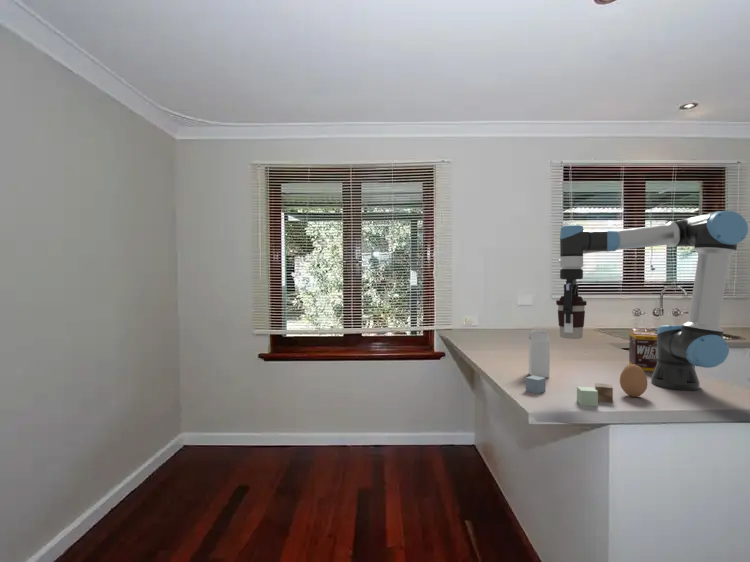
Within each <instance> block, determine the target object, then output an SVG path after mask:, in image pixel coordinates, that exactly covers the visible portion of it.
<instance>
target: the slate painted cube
mask: <svg viewBox="0 0 750 562" xmlns="http://www.w3.org/2000/svg"><path fill="white" fill-rule="evenodd" d="M546 378H547V377H538V376H531V375H530V376H527V377H525V391H526V392H530V393H532V394H533V393H534V394H542V393H545V392H546V386H547V385H546Z"/></svg>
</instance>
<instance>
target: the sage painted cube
mask: <svg viewBox="0 0 750 562" xmlns="http://www.w3.org/2000/svg"><path fill="white" fill-rule="evenodd" d="M576 402H577V403H578V404H579V405H580V406H581V407H598V406H599V401H598V391H597V390H596V389H595V387H594V386H576Z"/></svg>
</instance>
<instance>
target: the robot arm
mask: <svg viewBox="0 0 750 562" xmlns="http://www.w3.org/2000/svg"><path fill="white" fill-rule="evenodd" d="M748 233H749V226H748V223H747V220H746V219H745V218H744V217H743V216H742V215H741V213H738V212H736V211H735V210H734V211H733V210H716V211H714V212H710V213H705V214H699V215H696V216H695V215H694V216H692V217H688V218H684V219H681V220H675V221H673V220H672V221H669V222H667V223H666V224H664V225H654V226H643V227H636V228H627V229H626V228H625V229H619V230H618V229H617V230H616V229H615V230H609V229H606V230H605V229H604V230H584V226H583V225H582V224H568V225H567V224H566V225H562V226H561V227H560V232H559V249H560V250H559V253H560V254H559V256H560V257H559V259H558V262H559V265H560V266H559V268H561V269H560V271H559V279H560V280H566V281H565V283H564V284H563V296H564V302H563V311H562V314H564V332H567V333H573V314H572V309H573V306H572V302H573V297H575V296H579V283H577V280H583V279H584V269H582V268H583V267H584V254H585V255H586V254H590V253H600V252H603V253H604V252H606V253H609V252H616V251H621V250H630V249H638V248H649V247H659V246H668V247H671V248H673V247H674V248H675V247H693V249H694V251H695V252H696V253H697V255H698V257H697V261H696V262H697V263H696V268H695V275H694V282H693V287H692V288H693V289H692V294H691V301H690V307H689V313H688V320H687V321H686V322H684V323H682V325H659V326H658V327H657V330H656V331H657V332H656V333H657V364H656V367H655V369H654V372H653V371H652V374H651V376H650V377H651V379H650V380H651V384H652V385H655V386H657V387H660V388H665V389H672V390H680V391H696V389H697V390H700V380H699V376H698V375H697V372H696V369H695V367H699V368H704V369H705V368H706V369H709V368H716V367H718V366H720V365H721V364H723V363H724V362H725V361H726V360H727V358H728V356H729V353H730V347H729V344H728V343H727V342H726V340H725V339H724V330H723V328H722V327H721V326H720V320H721V315H722V314H721V312H722V307H723V302H724V294H725V289H726V282H727V275H728V270H729V269H728V268H729V264H730V258H731V256H732V255H734V254H735V253H737V250H738V249H737V248H738V244H739V243H741V242H742V241H743V240H745V239H746V237H747V236H748Z"/></svg>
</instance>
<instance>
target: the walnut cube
mask: <svg viewBox="0 0 750 562" xmlns="http://www.w3.org/2000/svg"><path fill="white" fill-rule="evenodd" d="M594 386H595V387H594V389H596V390H597V391H598V402H605V403H610V404H611V403H613V401H614V400H613V399H614V398H613V397H614V396H613V395H614V388H613V384H610V383H601V382H600V383H599V382H595V385H594Z"/></svg>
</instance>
